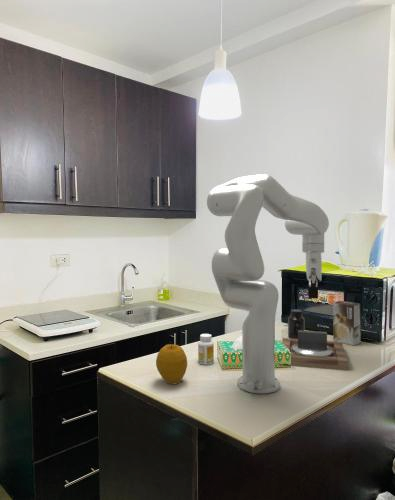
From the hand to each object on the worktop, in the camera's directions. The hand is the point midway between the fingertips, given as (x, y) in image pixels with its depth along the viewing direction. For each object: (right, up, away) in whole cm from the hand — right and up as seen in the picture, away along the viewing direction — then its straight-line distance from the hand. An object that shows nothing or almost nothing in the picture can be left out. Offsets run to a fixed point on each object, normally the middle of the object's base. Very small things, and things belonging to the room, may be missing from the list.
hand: (312, 295), depth 137 cm
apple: (-49, -24, -20) cm, 59 cm away
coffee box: (+19, -21, +19) cm, 34 cm away
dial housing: (0, -22, +1) cm, 22 cm away
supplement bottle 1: (-39, -23, -3) cm, 45 cm away
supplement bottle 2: (0, -21, +24) cm, 32 cm away
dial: (0, -21, +1) cm, 21 cm away
